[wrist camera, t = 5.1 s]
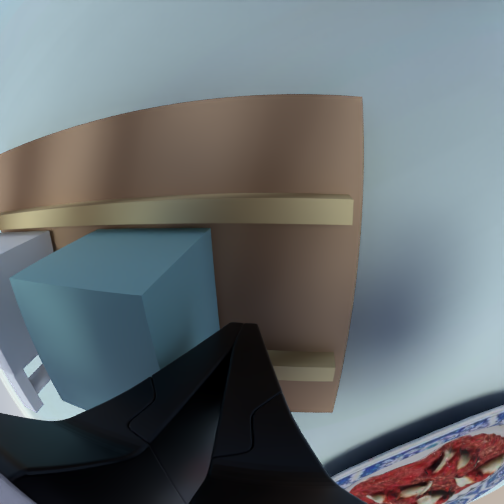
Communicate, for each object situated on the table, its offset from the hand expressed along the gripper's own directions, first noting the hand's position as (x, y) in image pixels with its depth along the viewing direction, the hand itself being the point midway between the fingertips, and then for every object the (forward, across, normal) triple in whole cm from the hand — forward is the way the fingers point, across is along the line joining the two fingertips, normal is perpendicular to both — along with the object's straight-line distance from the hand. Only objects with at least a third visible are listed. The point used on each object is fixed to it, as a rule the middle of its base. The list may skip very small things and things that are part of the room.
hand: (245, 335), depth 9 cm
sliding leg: (+2, +4, +2) cm, 5 cm away
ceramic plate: (+5, -16, +21) cm, 27 cm away
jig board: (+4, +6, 0) cm, 7 cm away
